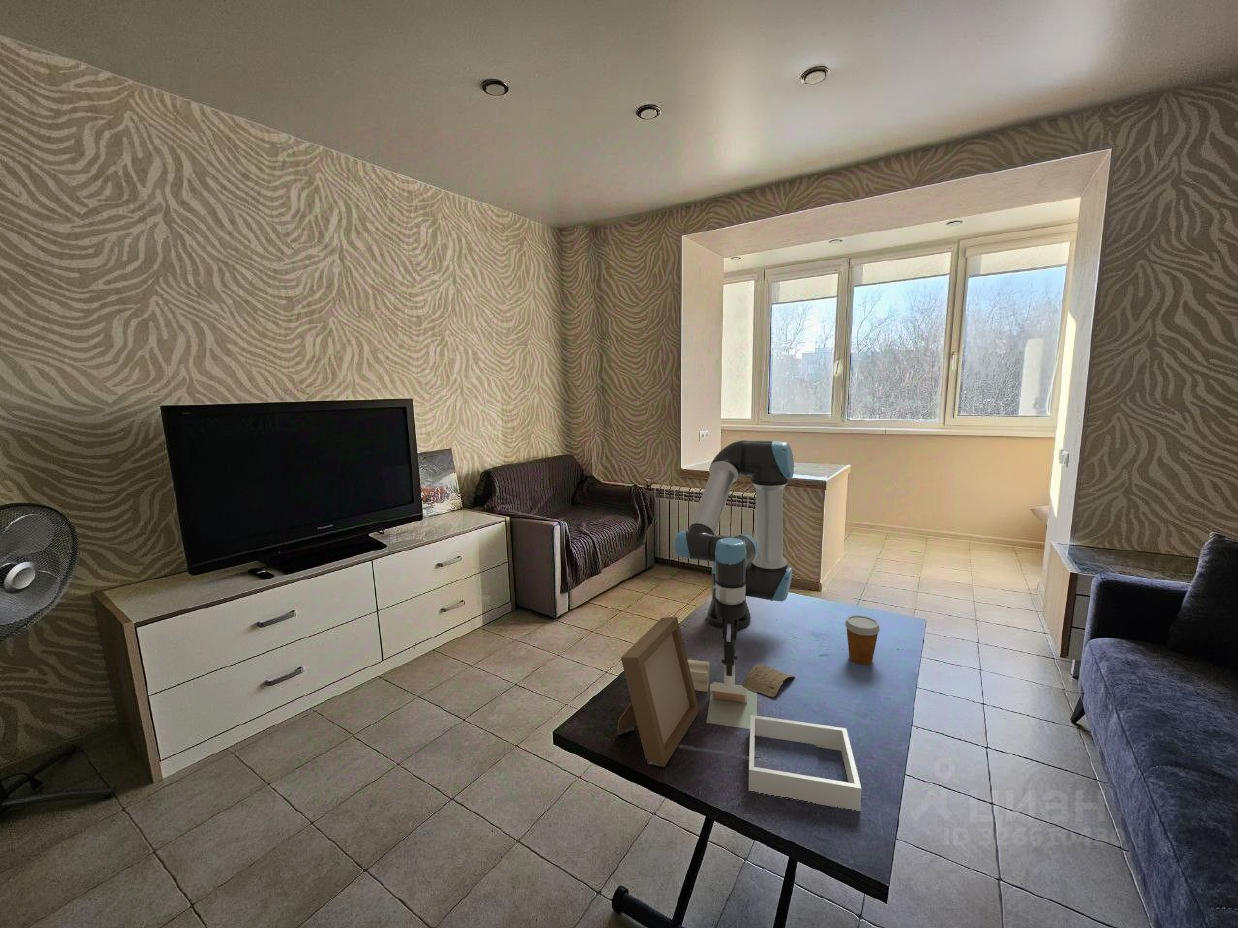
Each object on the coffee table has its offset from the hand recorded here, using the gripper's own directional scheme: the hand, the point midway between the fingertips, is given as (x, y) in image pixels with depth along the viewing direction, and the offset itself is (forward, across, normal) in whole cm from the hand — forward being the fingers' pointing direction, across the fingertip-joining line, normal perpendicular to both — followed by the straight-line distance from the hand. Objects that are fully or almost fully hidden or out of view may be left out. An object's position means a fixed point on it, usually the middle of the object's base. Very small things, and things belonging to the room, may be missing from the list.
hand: (729, 684), depth 133 cm
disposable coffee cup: (+5, -30, +37) cm, 48 cm away
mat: (+5, +2, +1) cm, 5 cm away
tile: (+4, 0, 0) cm, 4 cm away
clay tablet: (+5, -11, +10) cm, 16 cm away
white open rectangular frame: (+5, +21, +16) cm, 27 cm away
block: (+5, -5, -9) cm, 11 cm away
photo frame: (+5, +16, -17) cm, 24 cm away
